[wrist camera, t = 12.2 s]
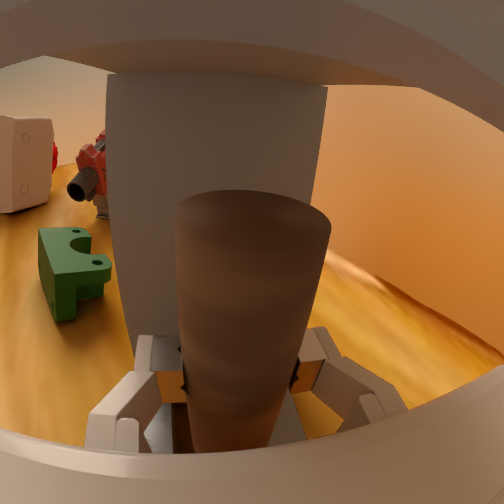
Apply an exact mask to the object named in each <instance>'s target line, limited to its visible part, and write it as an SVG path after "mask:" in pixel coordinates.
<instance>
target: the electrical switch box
mask: <svg viewBox="0 0 504 504" xmlns="http://www.w3.org/2000/svg"><path fill="white" fill-rule="evenodd" d="M57 155H58V151H57V147H56V146H55V142H54V131H53V125H52V120H51V118H50V117H20V118H15V117H11V116H8V115H2V116H0V213H10V212H15V211H19V210H22V209H26V208H30V207H33V206H37V205H41V204H44V203H47V201H48V197H49V193H50V189H51V186H52V174H53V171H54V170H55V168H56V166H57Z"/></svg>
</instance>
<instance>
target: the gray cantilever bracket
mask: <svg viewBox="0 0 504 504" xmlns="http://www.w3.org/2000/svg"><path fill="white" fill-rule="evenodd" d="M44 55H45V56H50V57H55V58H60V59H64V60H69V61H73V62H77V63H81V64H85V65H89V66H93V67H96V68H100V69H104V70H107V71H111V72H114V73H117V74H108V77H107V92H106V93H107V94H106V121H105V151H106V178H107V195H108V207H109V218H110V228H111V237H112V245H113V252H114V259H115V266H116V273H117V279H118V284H119V290H120V296H121V301H122V306H123V311H124V316H125V320H126V325H127V329H128V334H129V338H130V342H131V346H132V350H133V354H134V358H135V355H136V347H137V340H138V337H139V335H174V336H180V332H179V318H178V302H177V284H176V258H175V209H176V207H177V206H178V204H179V203H181V202H182V201H183V200H185V199H187V198H189V197H191V196H194V195H197V194H201V193H205V192H210V191H218V190H253V191H261V192H268V193H274V194H278V195H283V196H286V197H290V198H293V199H296V200H299V201H301V202H304V203H306V204H308V205H310V203H311V197H312V191H313V185H314V179H315V173H316V167H317V161H318V154H319V148H320V142H321V135H322V128H323V121H324V114H325V106H326V99H327V91H328V87H324V86H320V85H389V86H405V87H418V88H421V89H423V90H425V91H428V92H430V93H432V94H434V95H436V96H439V97H441V98H443V99H445V100H447V101H449V102H451V103H453V104H455V105H457V106H459V107H461V108H463V109H465V110H467V111H469V112H471V113H472V114H474V115H476V116H478V117H479V118H481V119H483V120H485V121H486V122H488V123H490V124H491V125H493V126H495V127H496V128H498V129H499V130H501V131H503V132H504V0H0V68H3V67H6V66H9V65H12V64H16V63H19V62H22V61H25V60H29V59H33V58H36V57H40V56H44Z"/></svg>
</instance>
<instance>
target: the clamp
mask: <svg viewBox="0 0 504 504" xmlns="http://www.w3.org/2000/svg"><path fill="white" fill-rule="evenodd" d="M91 239H92V237H91V235H90V234H89V233H88V231H87V230H85V229H83V228H78V227H65V228H39V231H38V267H39V275H40V279H41V283H42V286H43V289H44V292H45V295H46V298H47V301H48V304H49V307H50V310H51V313H52V316H53V318H54V321H55V322H62V321H69V320H75V319H76V317H77V305H76V300H80V299H87V298H95V297H101V296H103V293H104V283H106V282H108V281H110V279H111V269H112V263H111V261H110V260H109V259H108V257H107V256H106V255H105V254H96V255H93V254H90V252H91Z"/></svg>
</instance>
